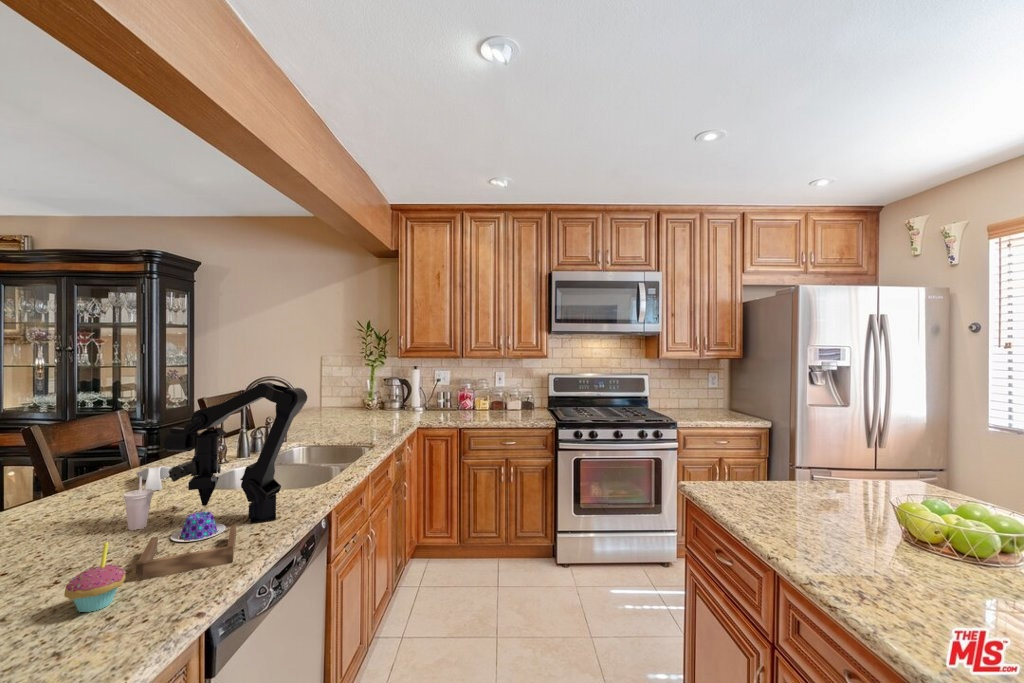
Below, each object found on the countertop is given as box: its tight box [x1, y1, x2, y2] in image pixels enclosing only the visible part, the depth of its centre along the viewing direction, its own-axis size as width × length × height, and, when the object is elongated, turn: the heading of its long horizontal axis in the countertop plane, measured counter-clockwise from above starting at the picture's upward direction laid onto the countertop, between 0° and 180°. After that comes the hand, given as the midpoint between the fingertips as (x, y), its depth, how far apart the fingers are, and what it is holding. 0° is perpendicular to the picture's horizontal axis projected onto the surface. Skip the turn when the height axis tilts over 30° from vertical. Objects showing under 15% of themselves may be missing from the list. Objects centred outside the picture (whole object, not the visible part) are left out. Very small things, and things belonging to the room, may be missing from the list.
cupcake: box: [64, 537, 126, 613], centre depth 84 cm, size 9×8×12 cm
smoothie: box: [122, 476, 154, 531], centre depth 120 cm, size 6×6×14 cm
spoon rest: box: [135, 465, 174, 491], centre depth 160 cm, size 24×12×7 cm, turn 37°
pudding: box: [170, 511, 226, 543], centre depth 117 cm, size 12×12×5 cm
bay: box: [134, 524, 237, 581], centre depth 104 cm, size 17×15×4 cm
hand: (204, 505), depth 128 cm, fingers closed
